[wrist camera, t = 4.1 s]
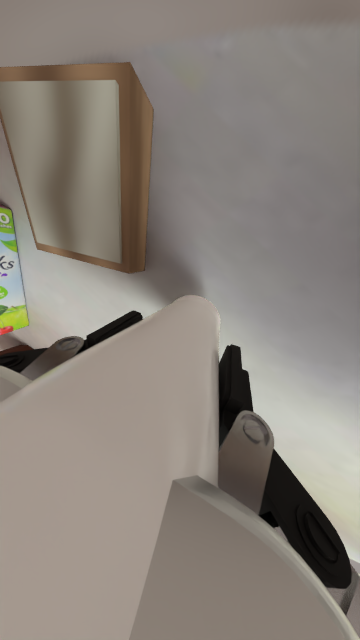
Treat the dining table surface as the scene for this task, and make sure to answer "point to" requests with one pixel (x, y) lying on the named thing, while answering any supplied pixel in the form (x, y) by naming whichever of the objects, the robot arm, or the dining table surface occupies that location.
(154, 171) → the dining table surface
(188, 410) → the drinking glass
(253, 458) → the robot arm
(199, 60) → the dining table surface
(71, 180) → the walnut framed mirror
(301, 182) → the dining table surface
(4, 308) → the snack box
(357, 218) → the dining table surface
